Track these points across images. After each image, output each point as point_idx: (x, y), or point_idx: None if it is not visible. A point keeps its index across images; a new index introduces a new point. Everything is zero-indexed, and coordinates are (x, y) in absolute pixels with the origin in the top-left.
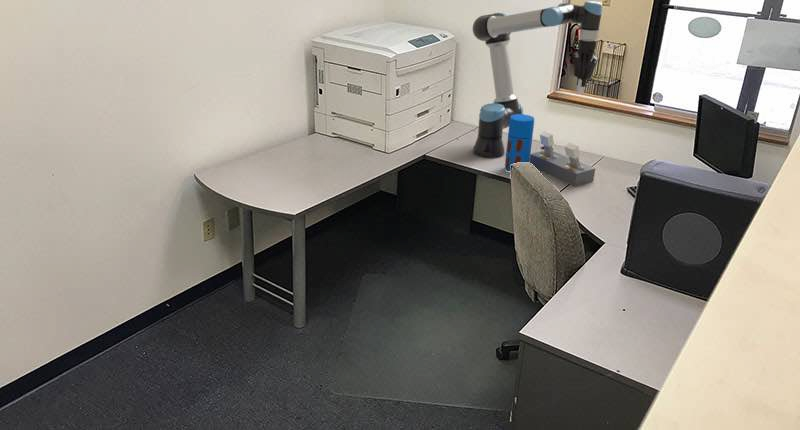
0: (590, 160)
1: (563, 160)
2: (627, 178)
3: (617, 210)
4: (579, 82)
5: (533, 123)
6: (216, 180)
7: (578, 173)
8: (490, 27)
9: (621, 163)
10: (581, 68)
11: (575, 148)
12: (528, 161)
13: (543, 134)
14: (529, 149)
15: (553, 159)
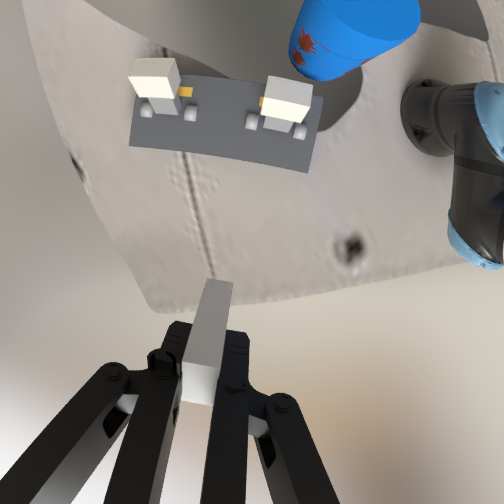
0: (226, 259)
1: (221, 123)
2: (110, 223)
3: (50, 70)
4: (206, 340)
5: (314, 2)
6: None
7: None
8: None
9: (171, 292)
10: (203, 483)
11: (132, 66)
12: (291, 47)
13: (299, 88)
14: (295, 31)
15: (246, 106)
